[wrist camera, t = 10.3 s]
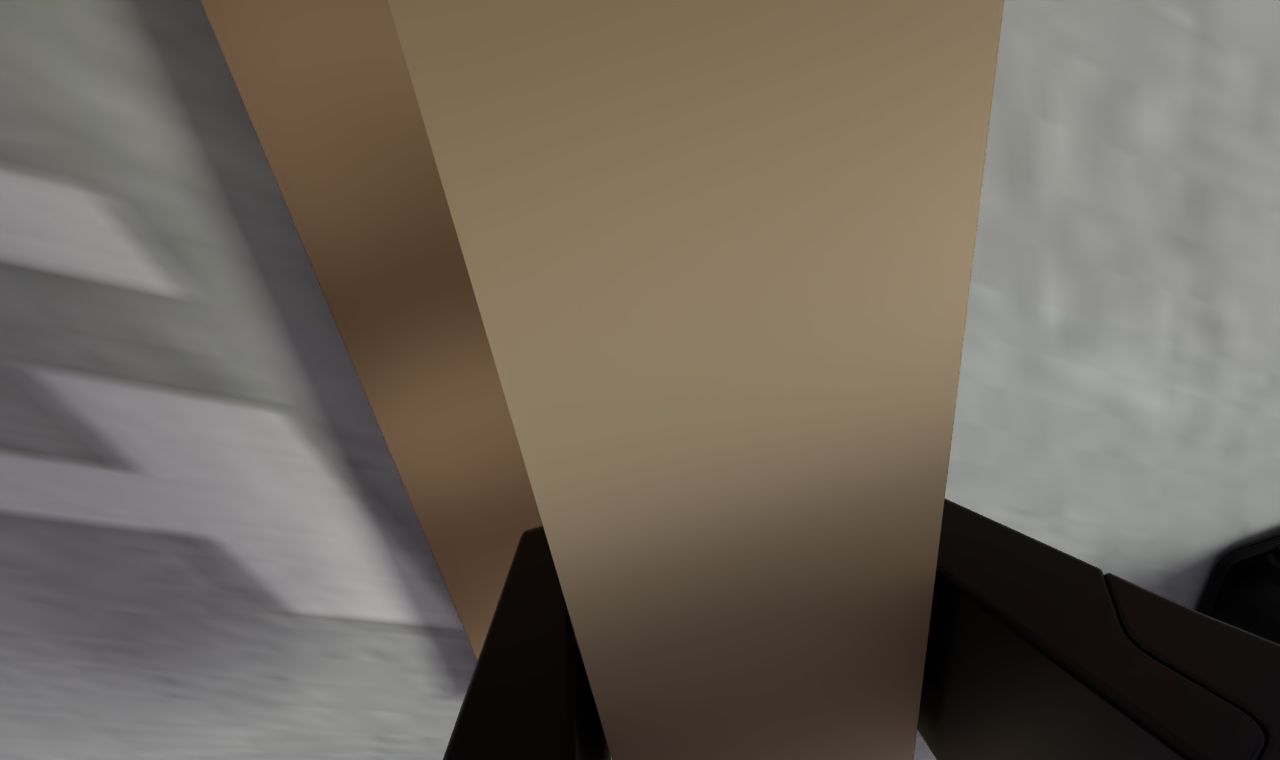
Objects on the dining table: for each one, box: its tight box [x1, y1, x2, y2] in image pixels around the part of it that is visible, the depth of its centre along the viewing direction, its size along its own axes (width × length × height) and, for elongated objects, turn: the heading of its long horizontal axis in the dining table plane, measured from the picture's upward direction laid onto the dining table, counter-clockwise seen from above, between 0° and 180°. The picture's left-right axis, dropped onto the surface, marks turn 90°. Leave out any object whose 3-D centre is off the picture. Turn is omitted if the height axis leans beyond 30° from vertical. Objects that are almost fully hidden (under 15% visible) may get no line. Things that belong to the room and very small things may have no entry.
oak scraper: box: [388, 0, 1004, 760], centre depth 8 cm, size 16×3×4 cm, turn 9°
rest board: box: [201, 0, 543, 660], centre depth 15 cm, size 24×9×1 cm, turn 9°
